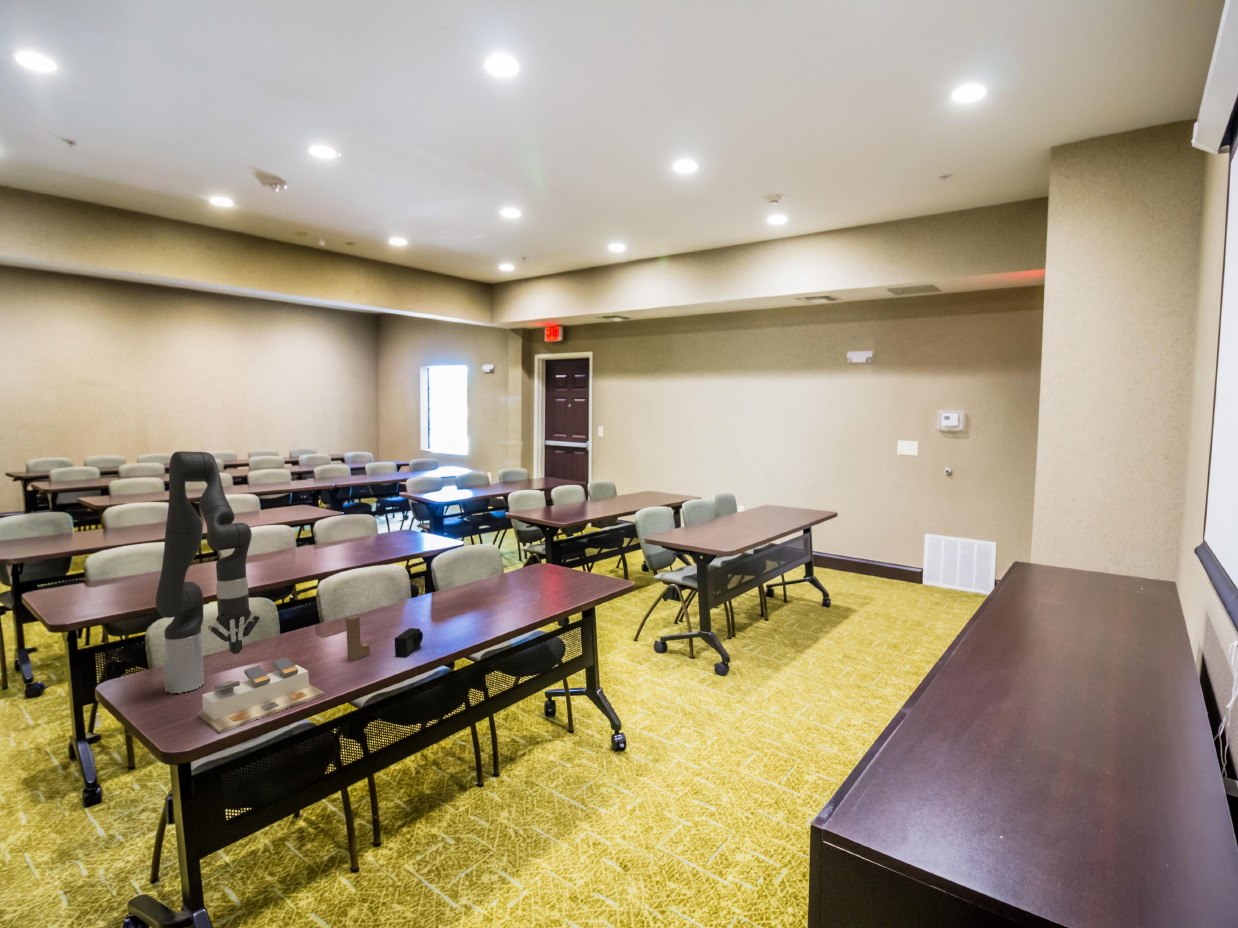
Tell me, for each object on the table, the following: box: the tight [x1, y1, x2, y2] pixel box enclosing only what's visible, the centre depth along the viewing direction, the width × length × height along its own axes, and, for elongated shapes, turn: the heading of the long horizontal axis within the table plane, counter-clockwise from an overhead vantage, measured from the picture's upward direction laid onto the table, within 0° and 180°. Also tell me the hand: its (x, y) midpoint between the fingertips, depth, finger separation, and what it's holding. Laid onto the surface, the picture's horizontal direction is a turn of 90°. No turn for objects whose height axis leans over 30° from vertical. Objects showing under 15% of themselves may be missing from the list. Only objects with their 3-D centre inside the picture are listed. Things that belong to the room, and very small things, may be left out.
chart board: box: [198, 683, 325, 734], centre depth 177 cm, size 28×16×1 cm, turn 142°
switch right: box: [272, 656, 298, 677], centre depth 185 cm, size 4×8×1 cm, turn 52°
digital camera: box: [394, 627, 424, 659], centre depth 217 cm, size 10×5×7 cm, turn 170°
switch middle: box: [243, 665, 270, 687], centre depth 179 cm, size 4×8×1 cm, turn 52°
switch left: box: [213, 680, 241, 691], centre depth 172 cm, size 4×8×1 cm, turn 52°
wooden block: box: [345, 614, 371, 662], centre depth 212 cm, size 7×3×15 cm, turn 145°
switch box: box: [201, 664, 310, 720], centre depth 179 cm, size 26×8×6 cm, turn 142°
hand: (236, 652), depth 171 cm, fingers closed
